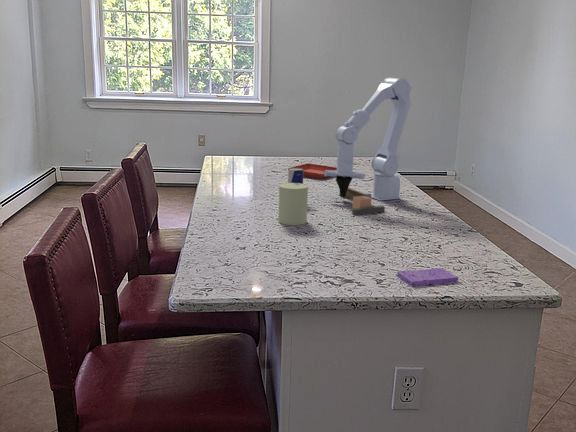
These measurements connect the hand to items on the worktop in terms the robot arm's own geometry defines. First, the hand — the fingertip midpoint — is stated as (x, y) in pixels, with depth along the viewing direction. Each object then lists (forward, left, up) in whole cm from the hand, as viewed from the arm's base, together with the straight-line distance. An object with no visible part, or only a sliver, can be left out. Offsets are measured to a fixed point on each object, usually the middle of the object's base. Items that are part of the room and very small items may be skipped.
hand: (343, 196), depth 221 cm
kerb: (+1, +19, -1) cm, 19 cm away
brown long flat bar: (-4, +1, -1) cm, 5 cm away
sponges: (+25, +77, -2) cm, 81 cm away
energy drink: (+17, -4, -2) cm, 18 cm away
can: (+30, +19, -2) cm, 36 cm away
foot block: (+1, +14, -2) cm, 14 cm away
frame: (-5, +1, -1) cm, 5 cm away
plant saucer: (-16, -48, -2) cm, 51 cm away
